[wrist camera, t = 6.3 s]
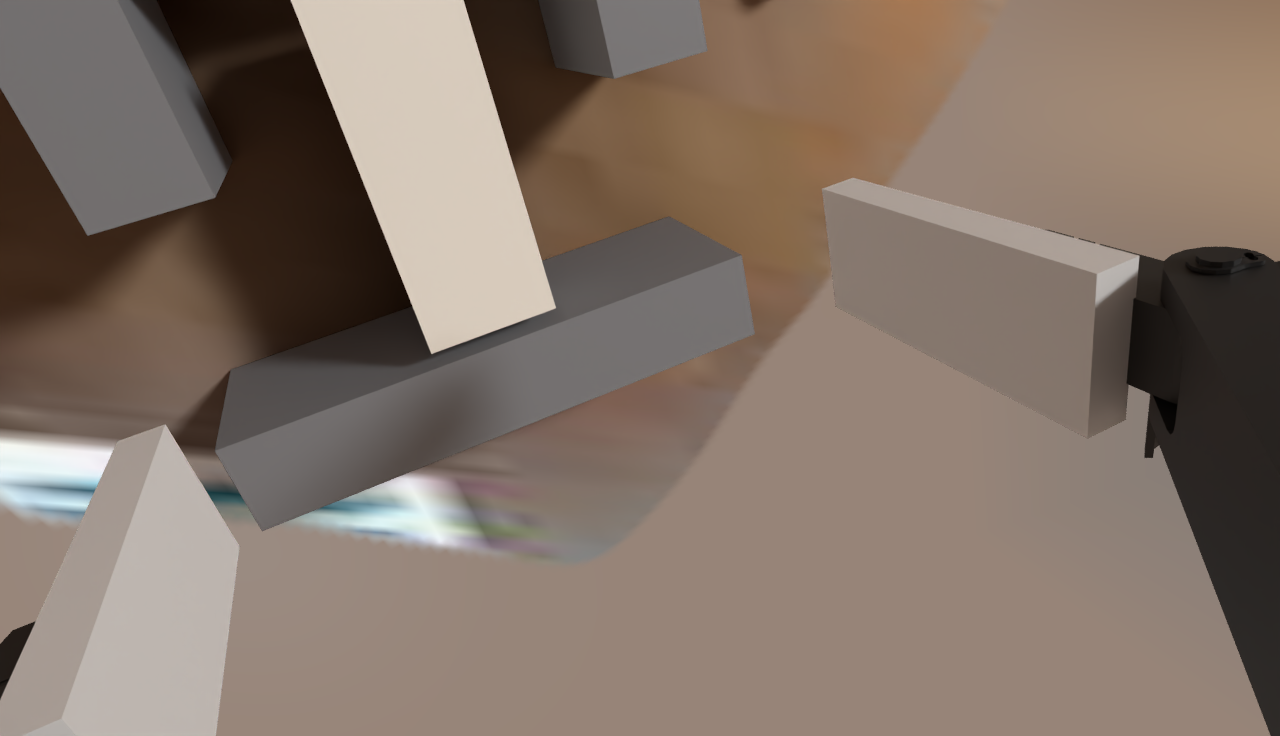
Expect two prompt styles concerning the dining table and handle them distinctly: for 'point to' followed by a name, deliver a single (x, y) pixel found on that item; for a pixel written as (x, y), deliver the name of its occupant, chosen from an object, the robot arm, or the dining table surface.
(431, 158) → the cream bar
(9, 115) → the dining table surface
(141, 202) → the pocket plate
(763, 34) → the dining table surface
